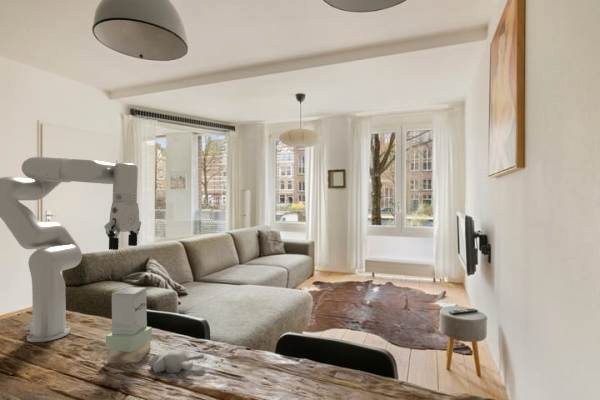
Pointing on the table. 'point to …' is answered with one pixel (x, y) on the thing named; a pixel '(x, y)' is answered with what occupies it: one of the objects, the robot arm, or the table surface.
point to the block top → (128, 340)
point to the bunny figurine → (173, 361)
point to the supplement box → (129, 310)
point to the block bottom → (128, 354)
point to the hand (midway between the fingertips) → (123, 247)
